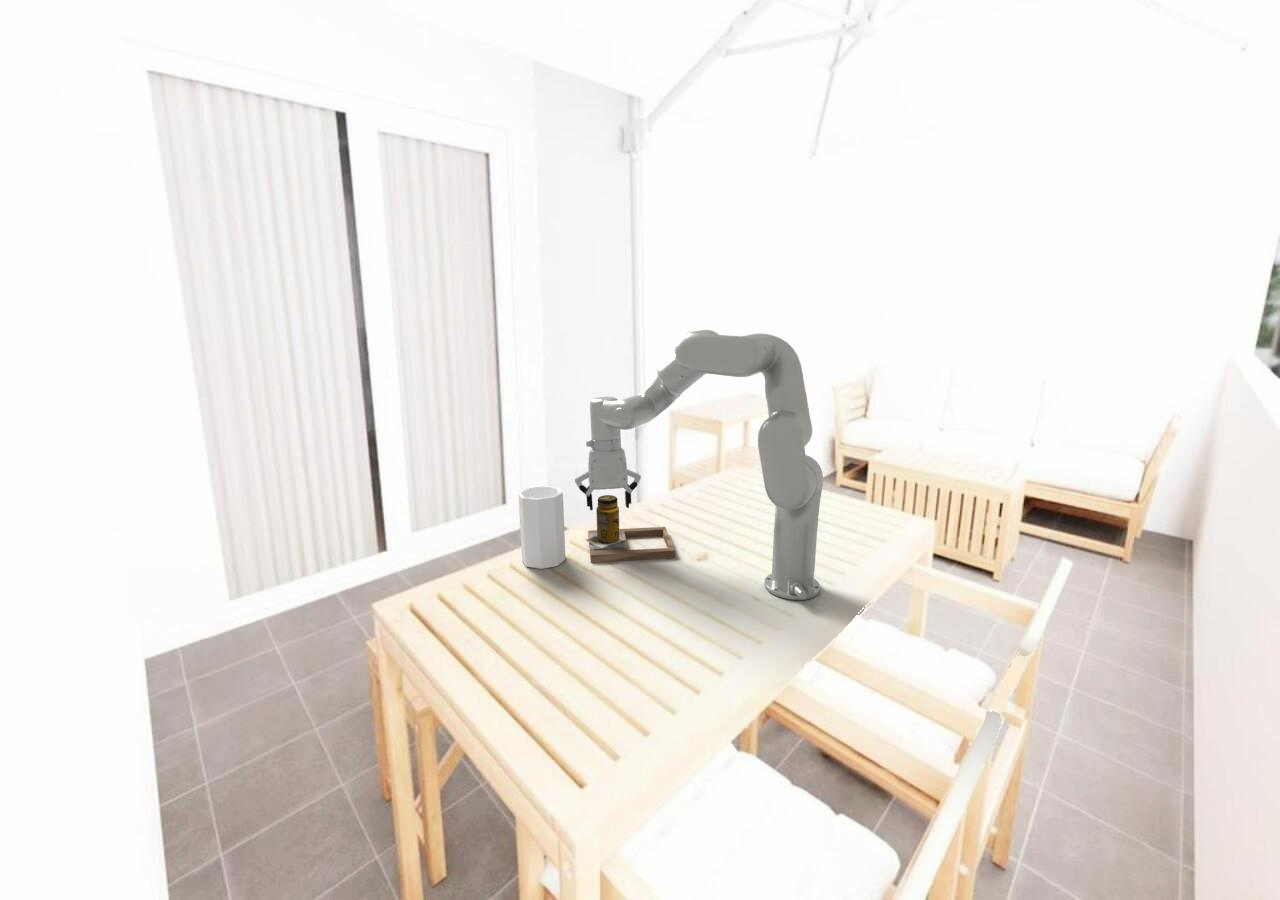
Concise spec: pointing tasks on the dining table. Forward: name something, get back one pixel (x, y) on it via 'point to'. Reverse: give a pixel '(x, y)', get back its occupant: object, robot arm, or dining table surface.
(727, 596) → the dining table surface
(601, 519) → the condiment
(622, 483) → the robot arm
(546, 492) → the cup
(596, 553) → the pocket board
